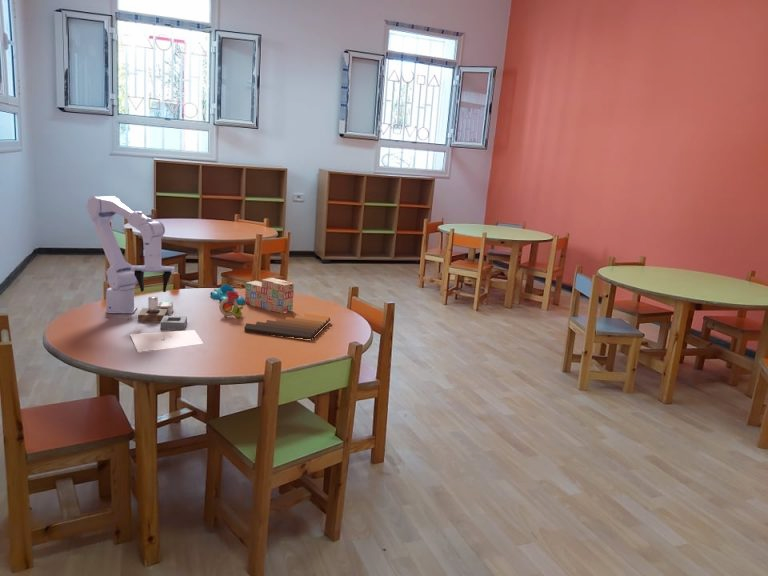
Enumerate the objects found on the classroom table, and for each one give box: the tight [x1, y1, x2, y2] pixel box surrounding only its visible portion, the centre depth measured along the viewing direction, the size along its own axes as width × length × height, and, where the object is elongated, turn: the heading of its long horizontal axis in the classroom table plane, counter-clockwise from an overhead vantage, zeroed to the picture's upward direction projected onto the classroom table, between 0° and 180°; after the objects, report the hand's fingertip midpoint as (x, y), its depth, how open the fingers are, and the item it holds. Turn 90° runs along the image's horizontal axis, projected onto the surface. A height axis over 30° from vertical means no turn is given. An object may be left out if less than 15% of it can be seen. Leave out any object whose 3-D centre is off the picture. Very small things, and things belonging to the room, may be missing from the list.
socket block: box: [137, 307, 169, 323], centre depth 212 cm, size 9×9×2 cm
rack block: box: [159, 315, 188, 330], centre depth 206 cm, size 8×8×2 cm
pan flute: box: [244, 313, 331, 339], centre depth 216 cm, size 25×3×25 cm
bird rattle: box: [219, 291, 244, 318], centre depth 221 cm, size 6×11×9 cm
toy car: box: [209, 283, 246, 306], centre depth 245 cm, size 11×18×7 cm, turn 36°
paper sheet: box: [129, 329, 204, 353], centre depth 185 cm, size 24×29×1 cm
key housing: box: [158, 301, 174, 316], centre depth 220 cm, size 5×6×3 cm
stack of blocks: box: [244, 277, 295, 314], centre depth 239 cm, size 21×6×12 cm, turn 58°
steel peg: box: [147, 295, 159, 313], centre depth 212 cm, size 3×3×8 cm
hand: (153, 291), depth 210 cm, fingers open, 7 cm apart
